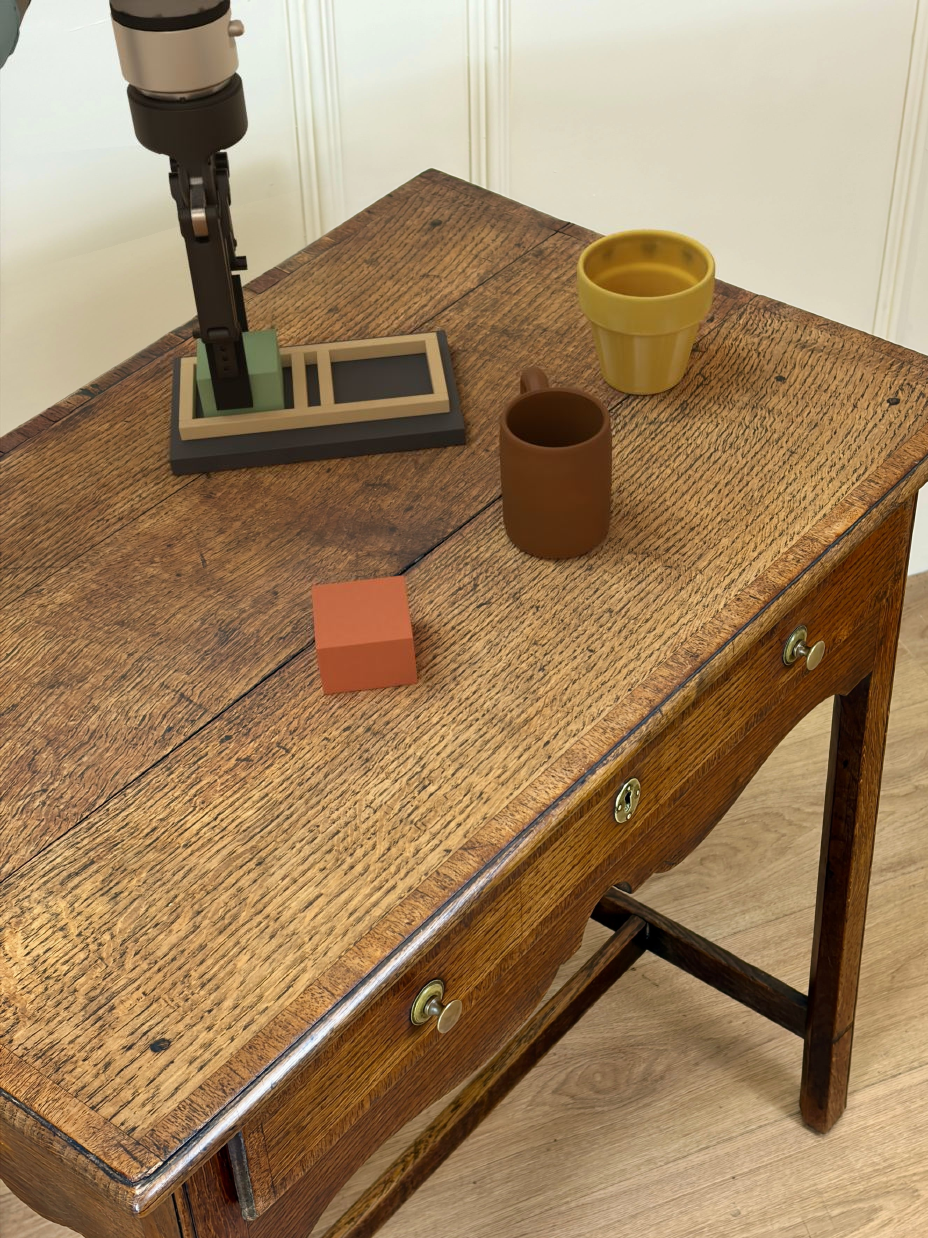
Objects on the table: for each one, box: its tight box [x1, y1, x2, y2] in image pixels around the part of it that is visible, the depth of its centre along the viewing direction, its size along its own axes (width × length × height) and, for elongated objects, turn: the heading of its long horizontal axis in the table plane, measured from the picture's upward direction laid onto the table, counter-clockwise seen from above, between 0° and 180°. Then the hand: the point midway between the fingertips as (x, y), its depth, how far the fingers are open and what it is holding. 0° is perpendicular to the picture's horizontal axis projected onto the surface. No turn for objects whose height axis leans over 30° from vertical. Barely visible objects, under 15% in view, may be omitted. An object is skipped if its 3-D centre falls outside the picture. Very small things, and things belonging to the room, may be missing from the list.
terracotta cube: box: [311, 574, 419, 695], centre depth 94 cm, size 6×6×4 cm
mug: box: [498, 365, 613, 560], centre depth 103 cm, size 12×8×9 cm, turn 13°
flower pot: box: [576, 228, 716, 396], centre depth 115 cm, size 10×10×10 cm
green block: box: [196, 328, 285, 418], centre depth 113 cm, size 6×6×4 cm
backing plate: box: [168, 329, 467, 477], centre depth 115 cm, size 22×14×3 cm, turn 98°
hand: (234, 378), depth 113 cm, fingers open, 7 cm apart
